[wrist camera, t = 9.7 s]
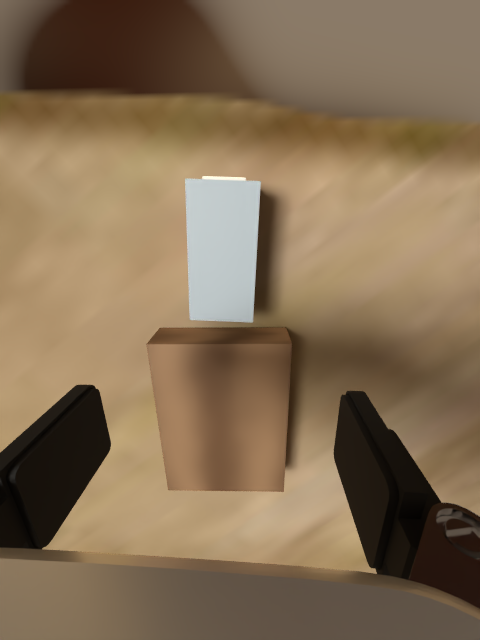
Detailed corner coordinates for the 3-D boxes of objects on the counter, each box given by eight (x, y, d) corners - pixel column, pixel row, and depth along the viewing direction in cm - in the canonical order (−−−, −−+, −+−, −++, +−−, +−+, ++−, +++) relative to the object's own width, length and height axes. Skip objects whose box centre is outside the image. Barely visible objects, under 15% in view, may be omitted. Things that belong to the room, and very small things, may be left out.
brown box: (286, 327, 21) (292, 343, 18) (279, 462, 26) (283, 491, 23) (159, 328, 21) (146, 344, 19) (176, 461, 26) (168, 490, 23)
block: (251, 303, 21) (257, 185, 18) (252, 322, 17) (260, 175, 14) (200, 301, 21) (197, 182, 18) (189, 320, 17) (185, 173, 14)
